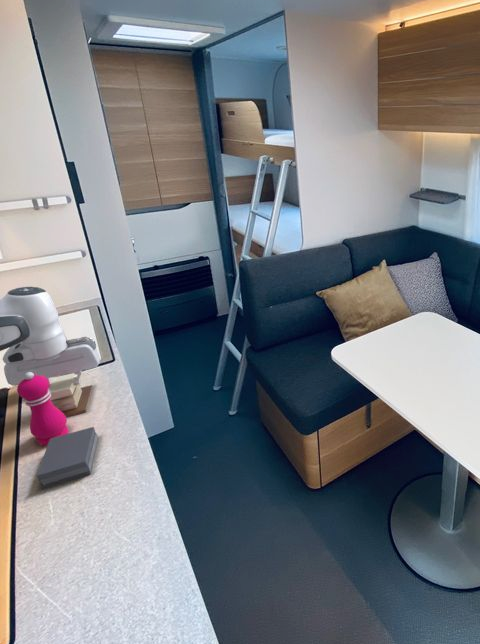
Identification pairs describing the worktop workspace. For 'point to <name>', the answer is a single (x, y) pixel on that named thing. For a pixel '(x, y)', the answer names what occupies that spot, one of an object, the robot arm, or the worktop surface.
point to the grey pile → (68, 457)
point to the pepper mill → (41, 408)
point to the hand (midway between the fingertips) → (62, 387)
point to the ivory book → (62, 386)
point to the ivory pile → (74, 401)
